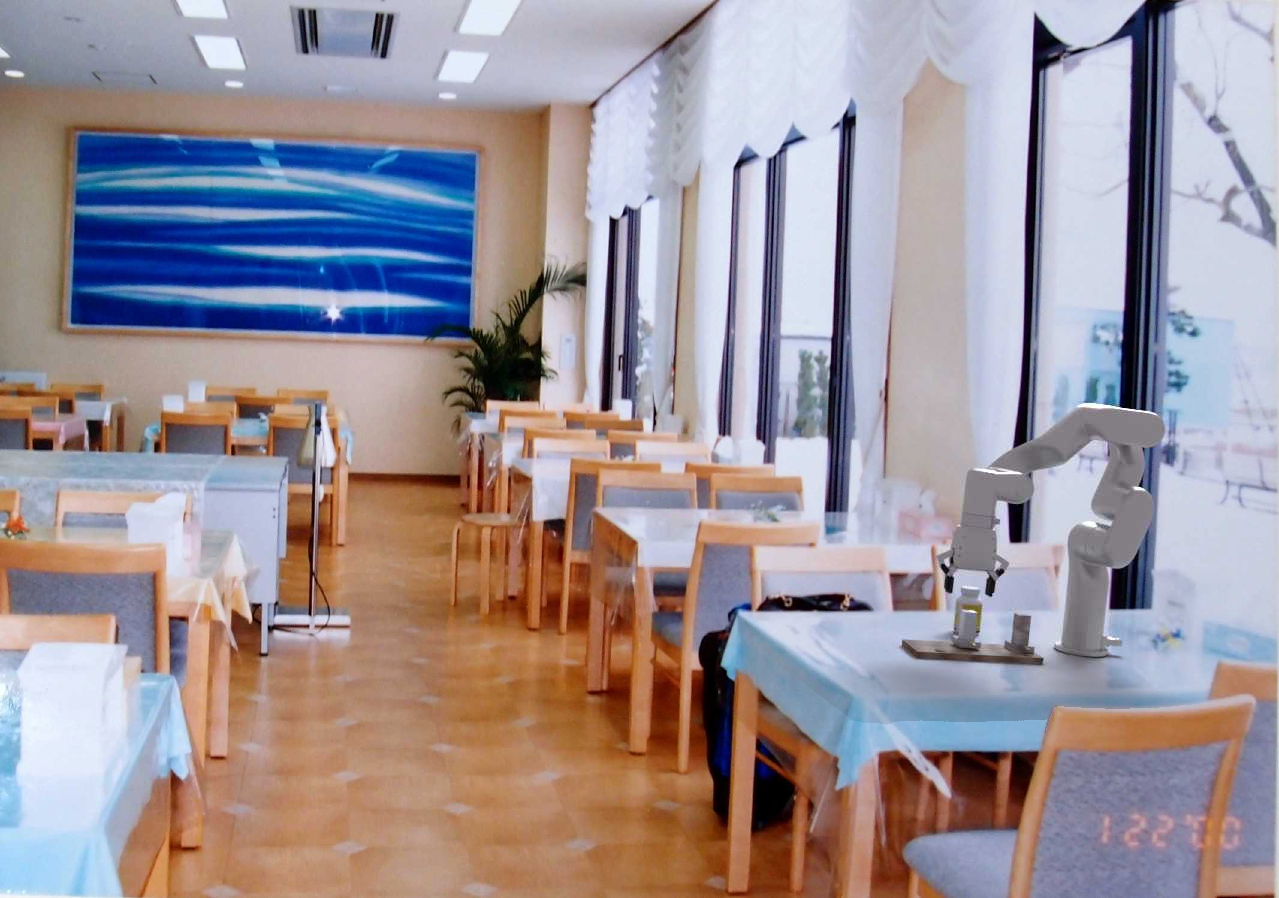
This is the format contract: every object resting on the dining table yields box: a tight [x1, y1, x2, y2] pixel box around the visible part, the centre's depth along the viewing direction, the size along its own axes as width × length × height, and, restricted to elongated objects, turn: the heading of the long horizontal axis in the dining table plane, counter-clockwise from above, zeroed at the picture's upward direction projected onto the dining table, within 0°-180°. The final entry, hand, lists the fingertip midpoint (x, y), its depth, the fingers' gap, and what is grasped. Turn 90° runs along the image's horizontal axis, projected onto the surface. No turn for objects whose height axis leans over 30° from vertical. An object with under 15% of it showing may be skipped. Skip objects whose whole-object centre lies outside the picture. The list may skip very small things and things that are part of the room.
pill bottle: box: [953, 585, 983, 636], centre depth 355 cm, size 6×6×12 cm
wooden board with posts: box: [901, 612, 1045, 665], centre depth 331 cm, size 30×12×10 cm, turn 96°
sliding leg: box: [951, 610, 982, 649], centre depth 330 cm, size 5×9×8 cm, turn 6°
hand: (968, 594), depth 331 cm, fingers open, 9 cm apart
